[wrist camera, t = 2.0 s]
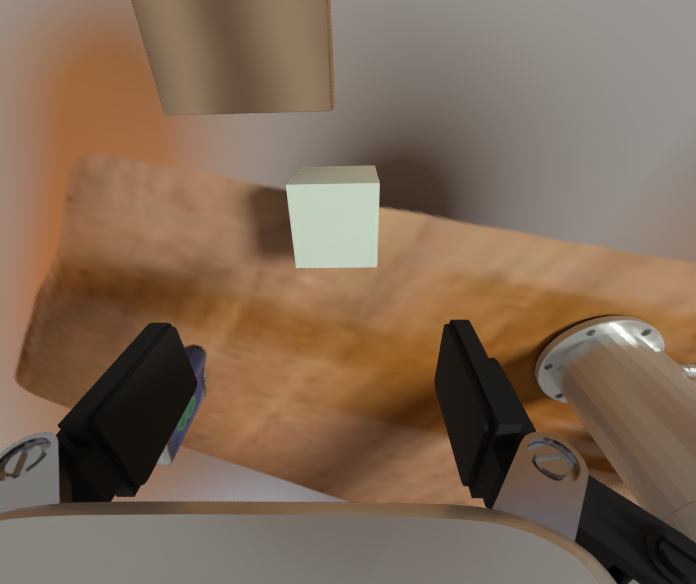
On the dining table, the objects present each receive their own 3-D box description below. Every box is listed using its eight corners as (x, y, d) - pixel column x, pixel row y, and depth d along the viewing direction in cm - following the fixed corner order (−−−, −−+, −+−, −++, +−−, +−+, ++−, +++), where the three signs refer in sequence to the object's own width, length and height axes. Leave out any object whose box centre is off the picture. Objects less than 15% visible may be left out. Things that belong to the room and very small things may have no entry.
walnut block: (326, -99, 18) (317, -161, 13) (334, 108, 23) (330, 111, 19) (151, -91, 18) (88, -150, 14) (199, 111, 23) (164, 115, 19)
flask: (206, 398, 40) (163, 486, 31) (183, 394, 40) (132, 482, 31) (208, 346, 35) (157, 432, 26) (182, 341, 35) (121, 426, 26)
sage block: (374, 165, 25) (379, 183, 20) (373, 236, 28) (377, 267, 23) (299, 167, 25) (285, 184, 20) (306, 237, 28) (296, 268, 23)
